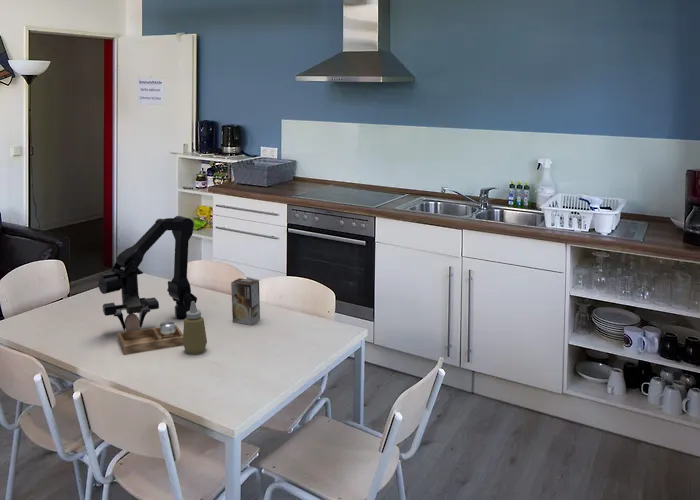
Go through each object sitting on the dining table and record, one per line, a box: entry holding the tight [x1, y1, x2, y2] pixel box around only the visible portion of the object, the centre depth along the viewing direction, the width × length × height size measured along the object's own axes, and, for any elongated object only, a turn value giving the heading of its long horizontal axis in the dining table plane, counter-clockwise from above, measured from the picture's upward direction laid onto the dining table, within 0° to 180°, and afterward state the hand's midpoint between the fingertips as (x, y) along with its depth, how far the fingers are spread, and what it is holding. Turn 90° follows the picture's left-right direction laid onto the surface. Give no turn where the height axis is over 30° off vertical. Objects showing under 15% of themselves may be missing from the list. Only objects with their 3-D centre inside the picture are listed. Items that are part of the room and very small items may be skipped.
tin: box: [159, 321, 176, 340], centre depth 229 cm, size 5×5×6 cm
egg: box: [124, 313, 140, 332], centre depth 236 cm, size 5×5×7 cm
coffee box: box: [230, 277, 261, 326], centre depth 248 cm, size 9×6×16 cm
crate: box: [117, 324, 184, 356], centre depth 227 cm, size 20×13×4 cm, turn 117°
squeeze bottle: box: [182, 301, 208, 355], centre depth 219 cm, size 8×8×18 cm
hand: (132, 328), depth 237 cm, fingers closed on egg, 5 cm apart
